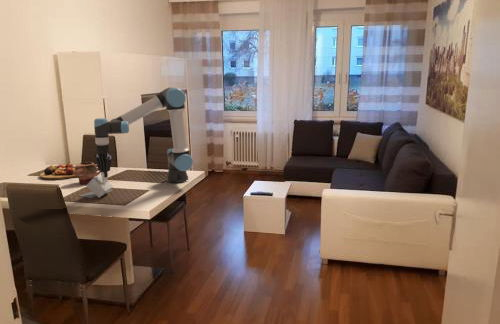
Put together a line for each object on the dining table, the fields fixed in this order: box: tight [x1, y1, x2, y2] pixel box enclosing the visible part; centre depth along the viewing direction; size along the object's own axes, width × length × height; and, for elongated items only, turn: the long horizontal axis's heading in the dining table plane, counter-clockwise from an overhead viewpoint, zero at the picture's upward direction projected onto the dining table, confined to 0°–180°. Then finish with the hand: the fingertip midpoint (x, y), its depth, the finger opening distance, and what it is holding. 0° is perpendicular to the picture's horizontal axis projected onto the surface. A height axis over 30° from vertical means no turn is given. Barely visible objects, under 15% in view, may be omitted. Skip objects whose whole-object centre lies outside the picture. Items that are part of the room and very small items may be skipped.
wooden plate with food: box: [39, 163, 78, 181], centre depth 288 cm, size 32×32×8 cm
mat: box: [78, 189, 115, 199], centre depth 241 cm, size 11×18×1 cm, turn 152°
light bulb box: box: [86, 174, 114, 198], centre depth 234 cm, size 11×7×11 cm
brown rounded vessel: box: [73, 161, 101, 185], centre depth 265 cm, size 20×12×14 cm, turn 138°
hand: (105, 182), depth 233 cm, fingers closed
